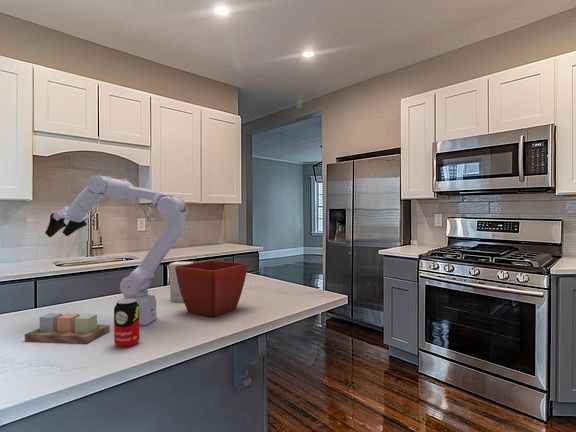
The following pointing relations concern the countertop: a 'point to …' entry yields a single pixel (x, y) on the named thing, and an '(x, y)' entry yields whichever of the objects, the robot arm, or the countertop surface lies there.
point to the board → (67, 336)
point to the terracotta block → (66, 323)
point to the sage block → (85, 323)
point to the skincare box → (175, 282)
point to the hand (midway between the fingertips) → (56, 234)
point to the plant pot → (211, 286)
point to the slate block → (49, 322)
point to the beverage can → (126, 322)
